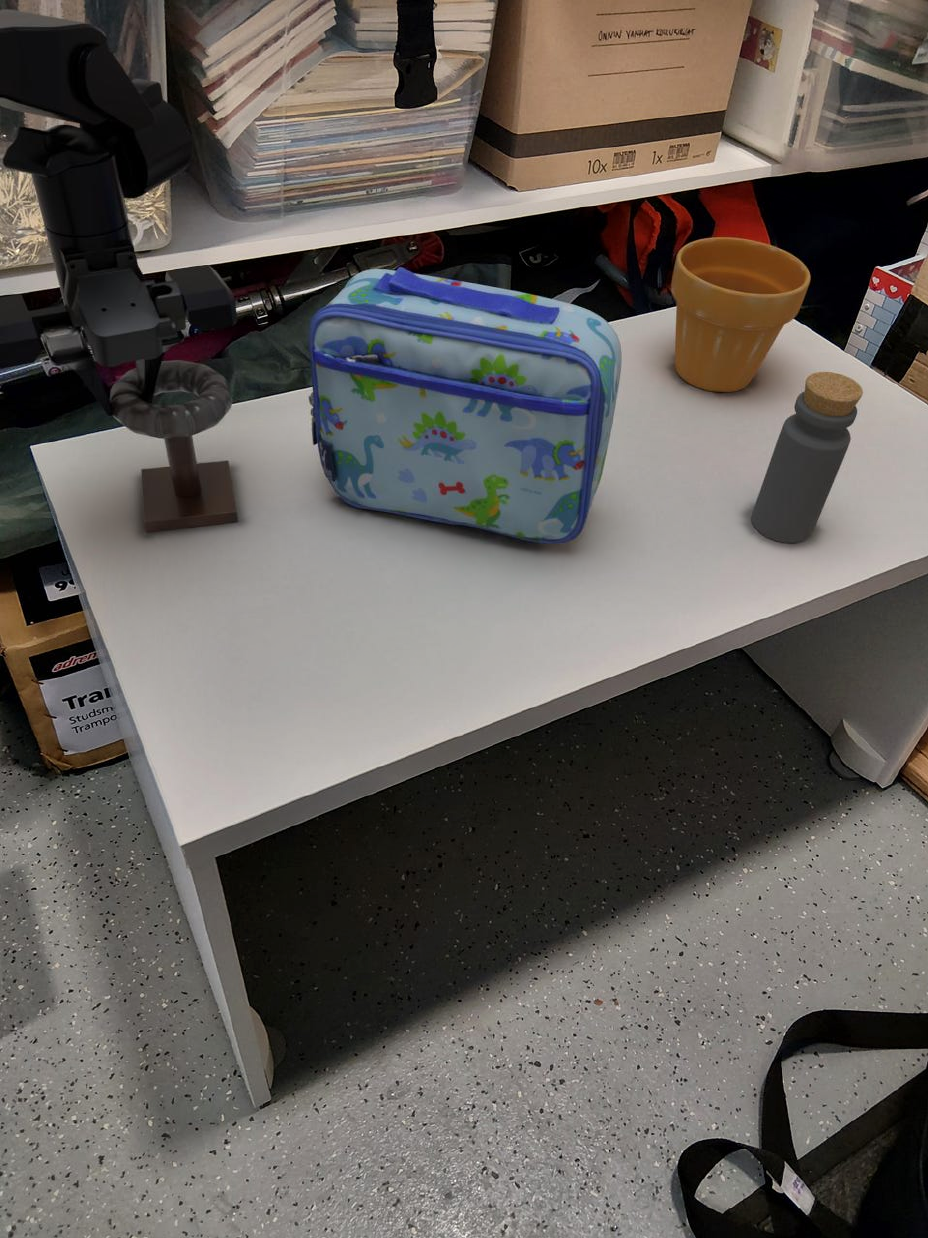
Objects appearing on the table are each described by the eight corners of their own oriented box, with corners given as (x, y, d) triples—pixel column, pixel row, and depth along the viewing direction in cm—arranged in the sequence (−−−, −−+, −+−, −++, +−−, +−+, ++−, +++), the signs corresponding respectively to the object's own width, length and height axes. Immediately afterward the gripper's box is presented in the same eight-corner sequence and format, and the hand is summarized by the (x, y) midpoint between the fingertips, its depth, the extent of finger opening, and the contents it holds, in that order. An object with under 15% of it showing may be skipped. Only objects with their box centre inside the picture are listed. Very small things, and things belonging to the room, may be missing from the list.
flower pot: (791, 367, 111) (828, 260, 102) (750, 420, 102) (786, 308, 93) (680, 331, 116) (706, 225, 106) (632, 378, 107) (656, 268, 98)
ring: (114, 449, 75) (108, 421, 73) (112, 386, 82) (106, 359, 80) (238, 437, 78) (235, 410, 76) (226, 377, 84) (223, 351, 82)
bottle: (785, 499, 92) (837, 362, 82) (825, 535, 89) (885, 396, 78) (738, 513, 90) (785, 374, 80) (777, 550, 86) (832, 410, 76)
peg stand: (146, 532, 83) (128, 456, 77) (143, 479, 88) (126, 403, 82) (238, 521, 85) (227, 446, 79) (229, 470, 90) (219, 395, 84)
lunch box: (303, 503, 87) (287, 288, 72) (348, 442, 94) (341, 236, 80) (575, 572, 83) (617, 358, 68) (600, 502, 90) (642, 295, 75)
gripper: (-38, 290, 58) (28, 492, 69) (250, 246, 65) (269, 435, 76) (-62, 222, 65) (2, 415, 76) (202, 188, 72) (225, 370, 83)
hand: (128, 410), depth 78 cm, fingers closed on ring, 3 cm apart
